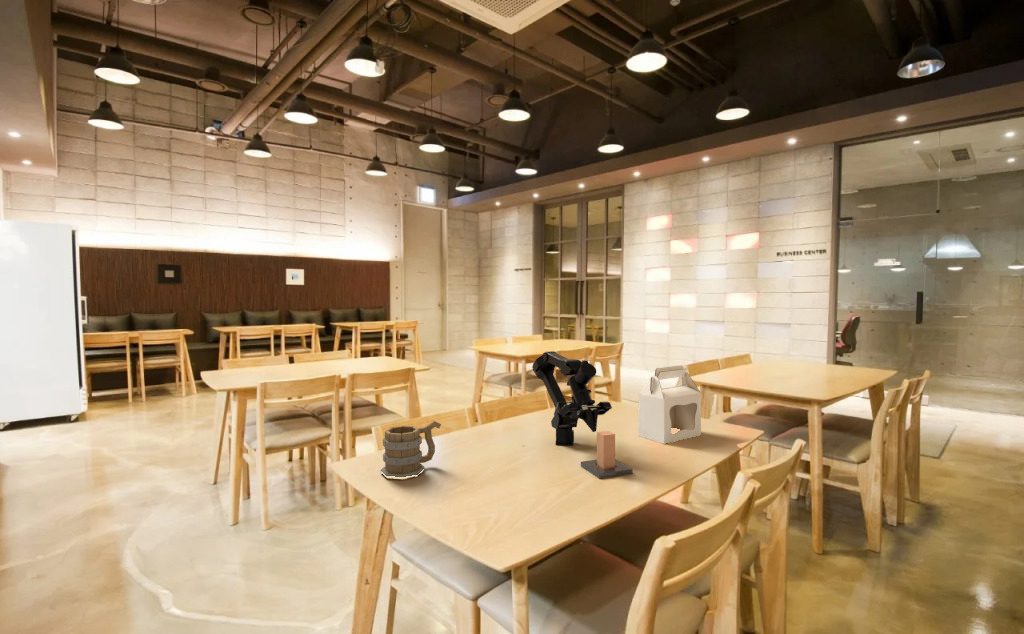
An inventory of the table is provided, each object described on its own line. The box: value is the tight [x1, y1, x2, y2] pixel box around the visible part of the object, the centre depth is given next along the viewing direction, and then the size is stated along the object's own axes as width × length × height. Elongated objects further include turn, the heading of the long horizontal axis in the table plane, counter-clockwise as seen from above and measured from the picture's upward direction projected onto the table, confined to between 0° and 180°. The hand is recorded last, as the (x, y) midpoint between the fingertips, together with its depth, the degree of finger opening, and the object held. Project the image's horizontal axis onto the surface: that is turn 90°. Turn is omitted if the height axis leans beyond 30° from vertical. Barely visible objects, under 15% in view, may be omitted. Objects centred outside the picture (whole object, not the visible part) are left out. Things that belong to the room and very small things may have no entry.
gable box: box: [638, 365, 702, 445], centre depth 192 cm, size 22×13×28 cm, turn 122°
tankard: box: [380, 420, 442, 477], centre depth 155 cm, size 20×13×15 cm, turn 123°
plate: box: [580, 458, 633, 480], centre depth 154 cm, size 12×12×2 cm
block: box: [596, 430, 616, 469], centre depth 154 cm, size 4×4×12 cm
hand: (594, 431), depth 163 cm, fingers closed
